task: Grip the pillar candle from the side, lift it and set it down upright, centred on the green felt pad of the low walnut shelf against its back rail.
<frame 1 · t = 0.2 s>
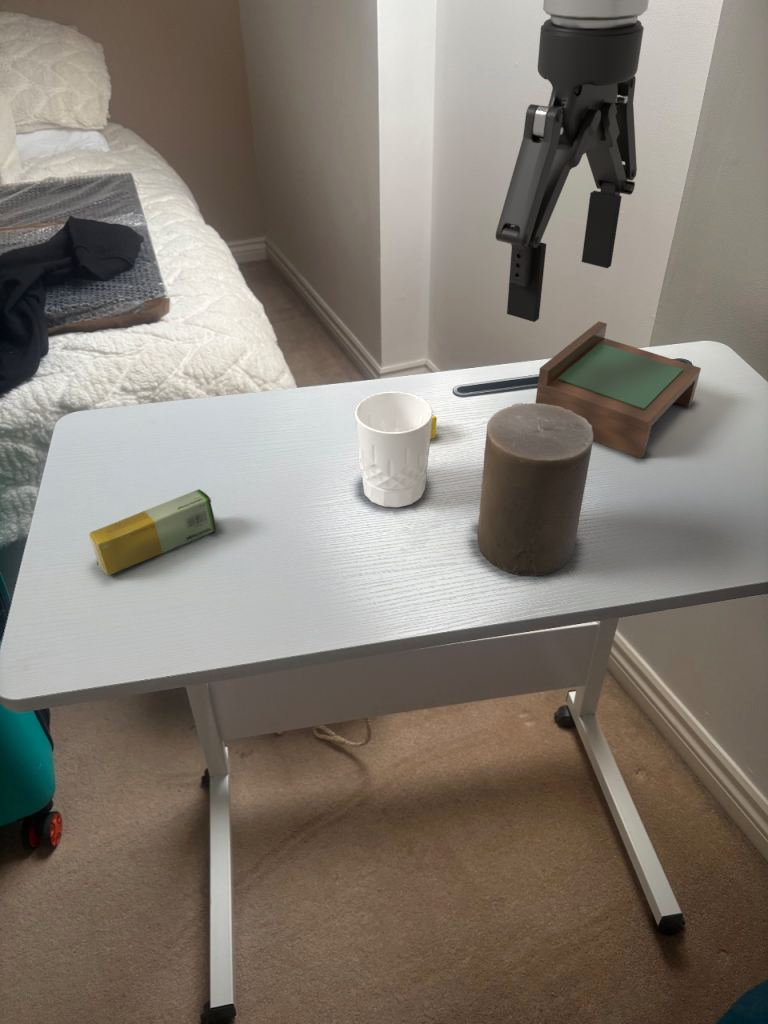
hand: (561, 289, 75), 24 cm above the table, tool pointing down, fingers open, 13 cm apart
white cup: (393, 490, 91), on the table
pillar candle: (525, 544, 84), on the table
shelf: (613, 410, 102), on the table
medication box: (159, 549, 84), on the table
alphabet block: (418, 436, 99), on the table
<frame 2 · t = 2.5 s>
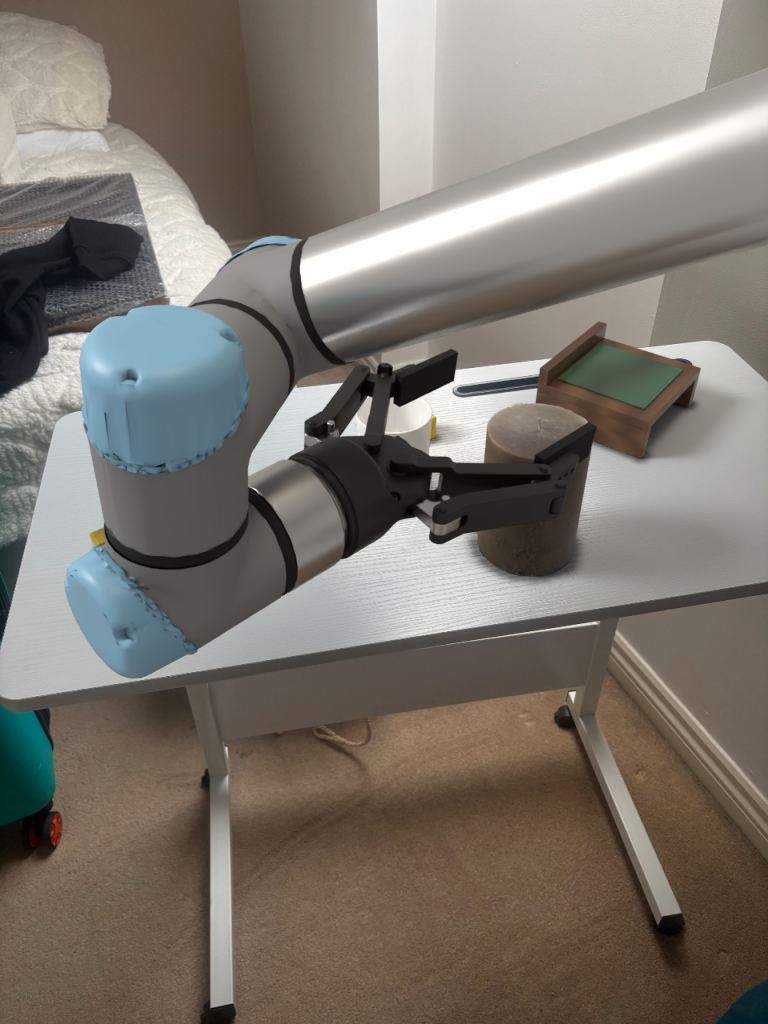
hand: (517, 399, 65), 21 cm above the table, tool horizontal, fingers open, 13 cm apart
nothing on the table moved.
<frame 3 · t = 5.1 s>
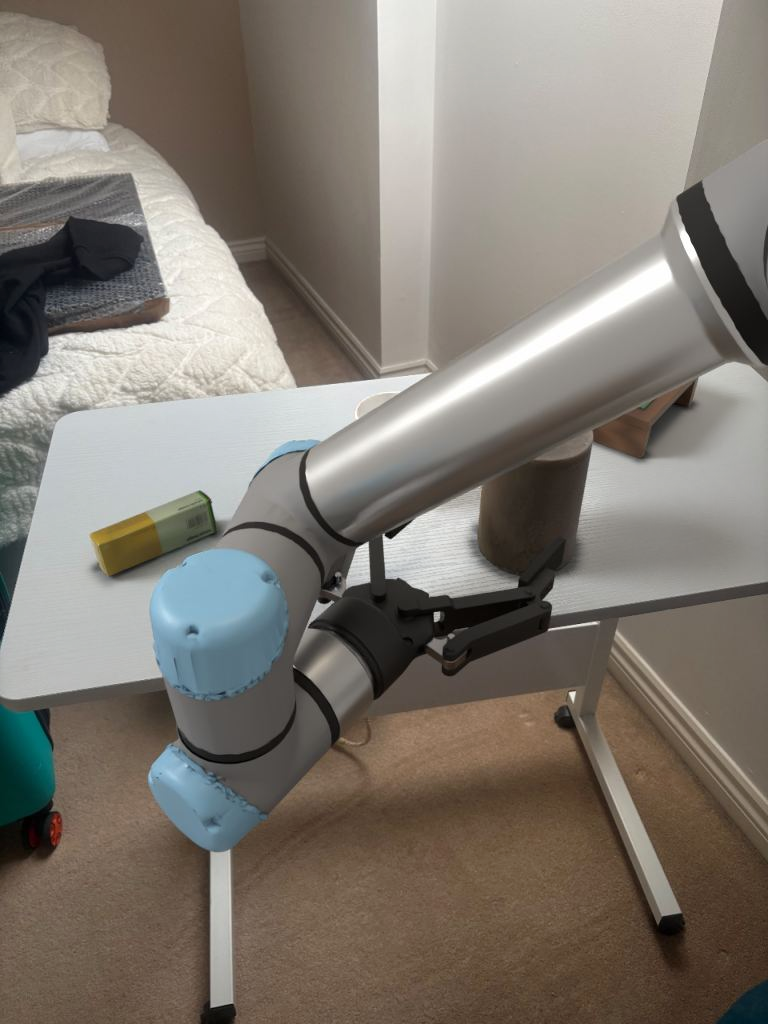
hand: (492, 518, 74), 8 cm above the table, tool horizontal, fingers open, 13 cm apart
nothing on the table moved.
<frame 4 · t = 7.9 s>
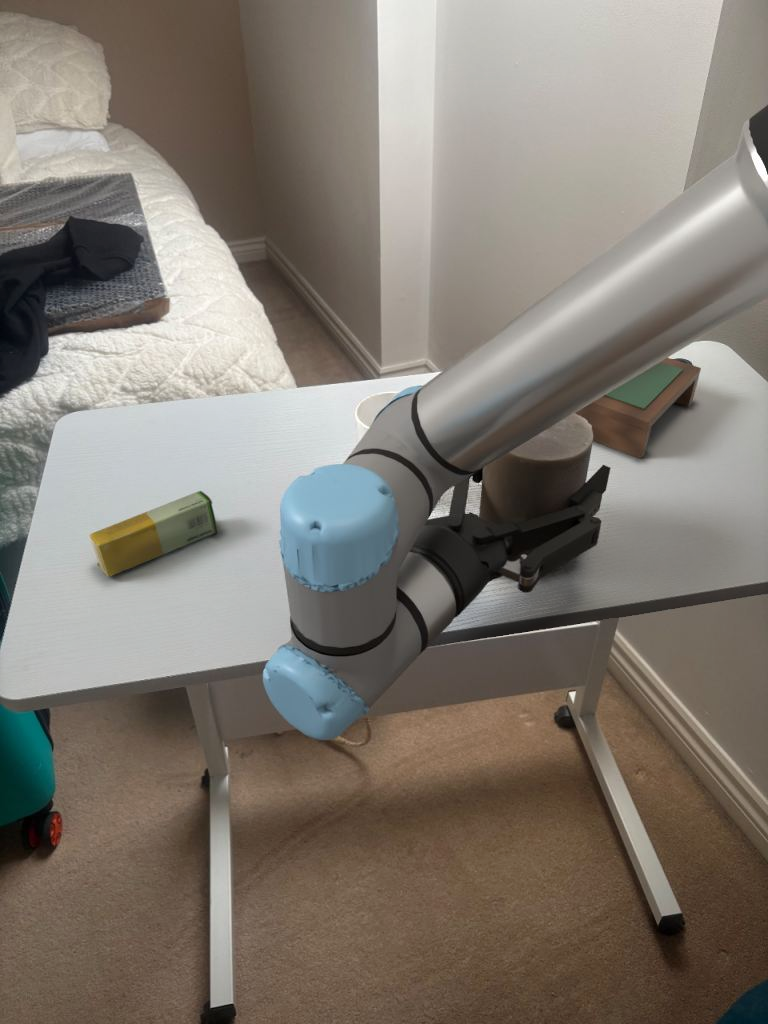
hand: (556, 458, 81), 8 cm above the table, tool horizontal, fingers closed on pillar candle, 10 cm apart
pillar candle: (525, 544, 84), on the table, touching gripper
everything else where it was.
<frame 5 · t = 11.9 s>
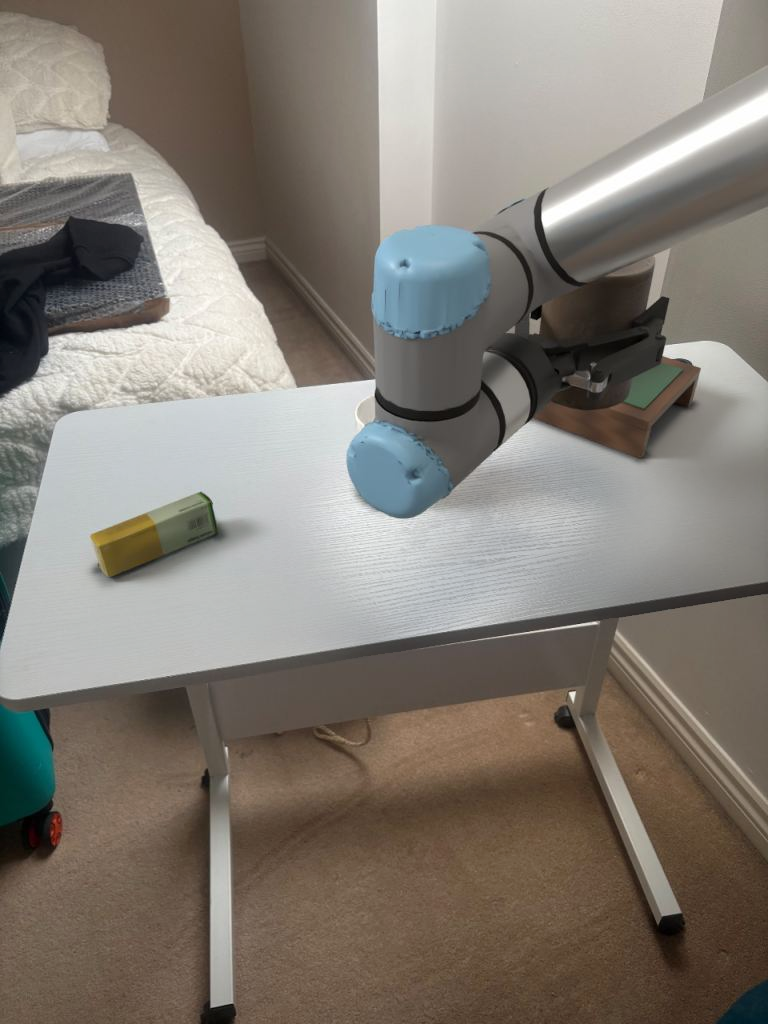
hand: (613, 296, 82), 20 cm above the table, tool horizontal, fingers closed on pillar candle, 10 cm apart
pillar candle: (581, 387, 84), point 12 cm above the table, touching gripper
everything else where it was.
when the fingers open (13 cm above the table, at t = 16.4 s): pillar candle stays where it is, resting on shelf.
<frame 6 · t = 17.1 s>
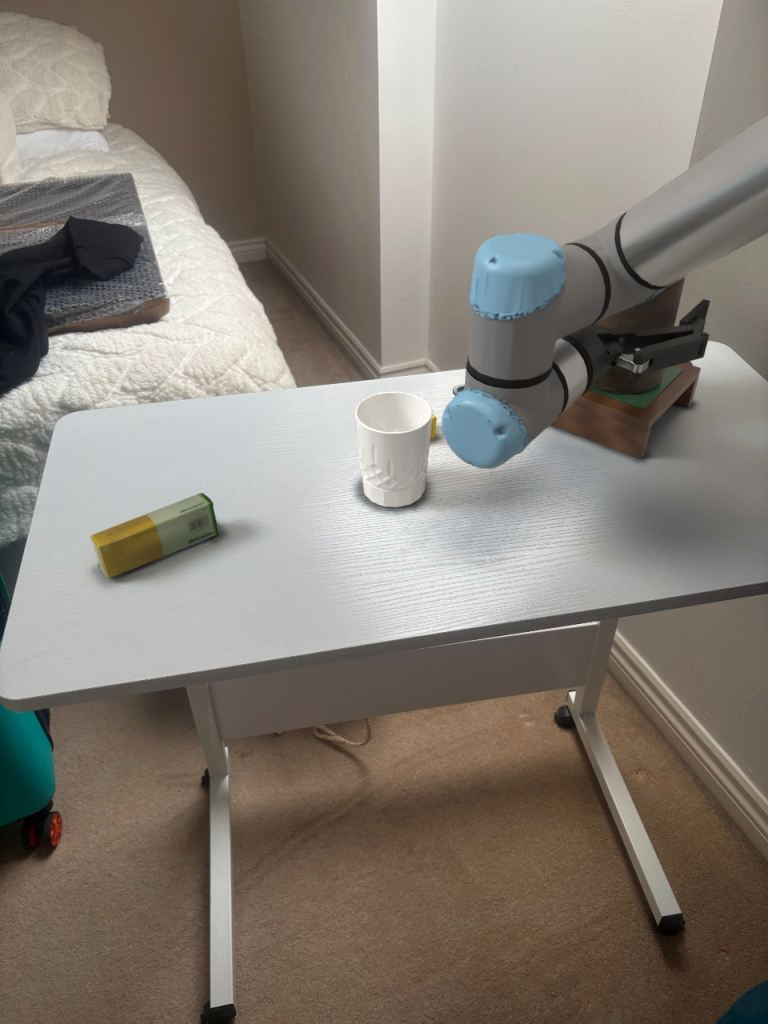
hand: (646, 295, 95), 14 cm above the table, tool horizontal, fingers open, 13 cm apart
pillar candle: (620, 375, 99), point 5 cm above the table, touching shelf
everything else where it was.
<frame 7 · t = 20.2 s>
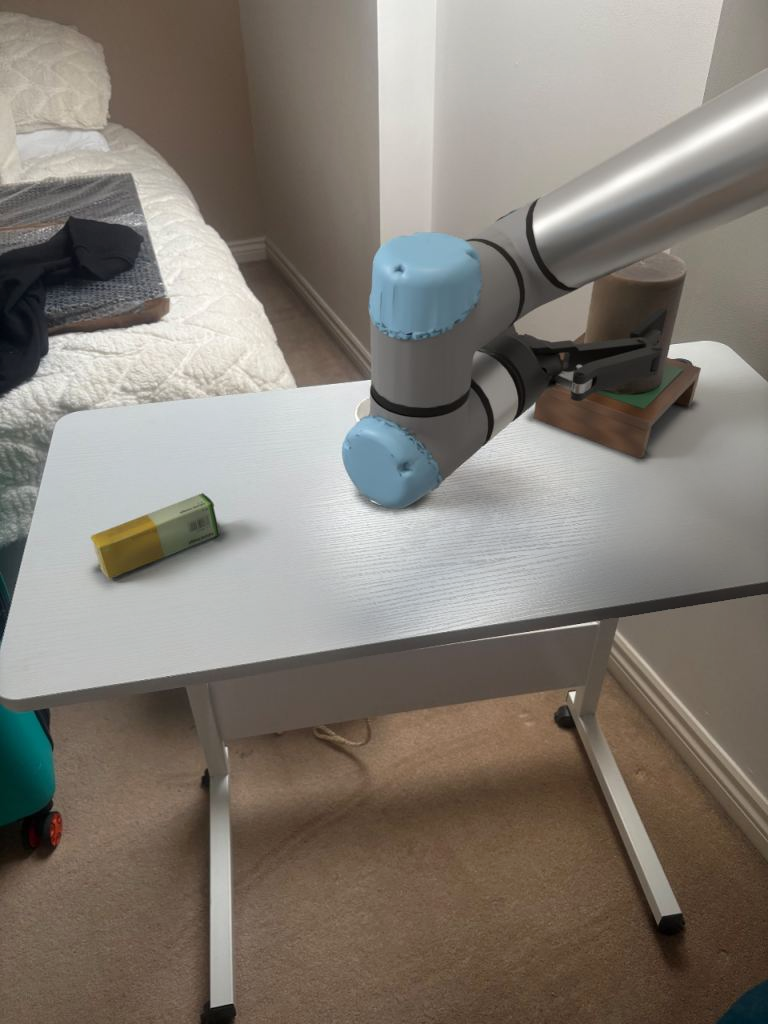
hand: (597, 302, 85), 18 cm above the table, tool horizontal, fingers open, 13 cm apart
nothing on the table moved.
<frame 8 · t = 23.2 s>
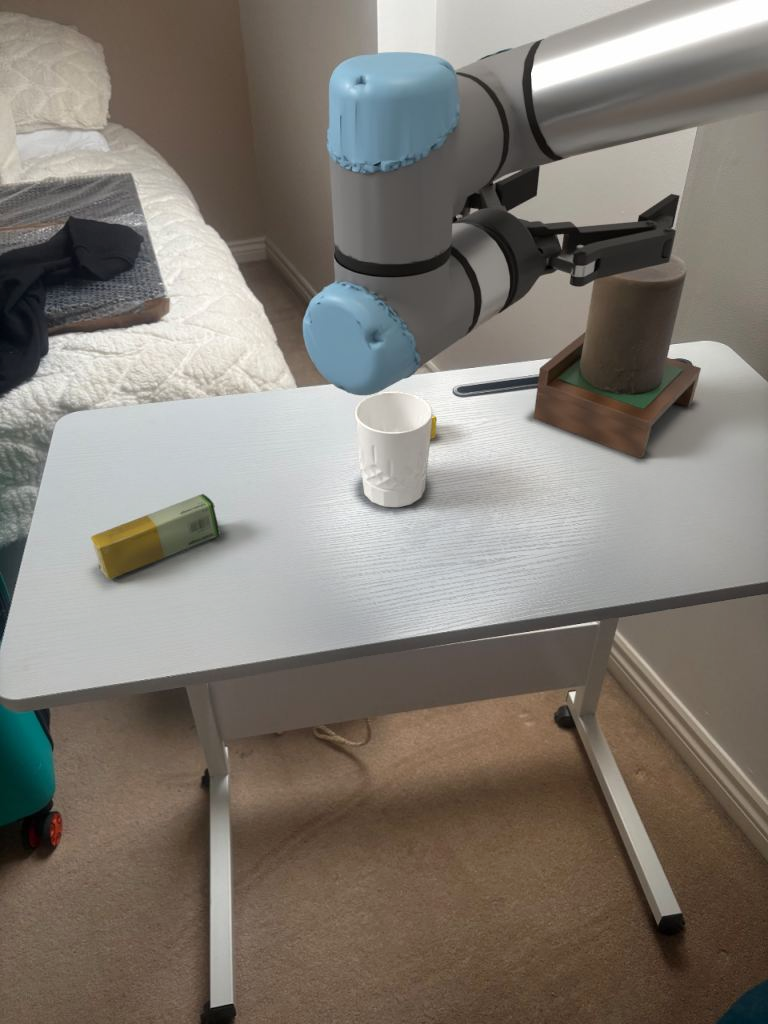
hand: (600, 194, 75), 30 cm above the table, tool horizontal, fingers open, 13 cm apart
nothing on the table moved.
at the end: pillar candle inside the target area on the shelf (0.0 cm from its centre), point 5.0 cm above the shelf's base; pillar candle tilted 0°; the gripper is holding nothing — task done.
